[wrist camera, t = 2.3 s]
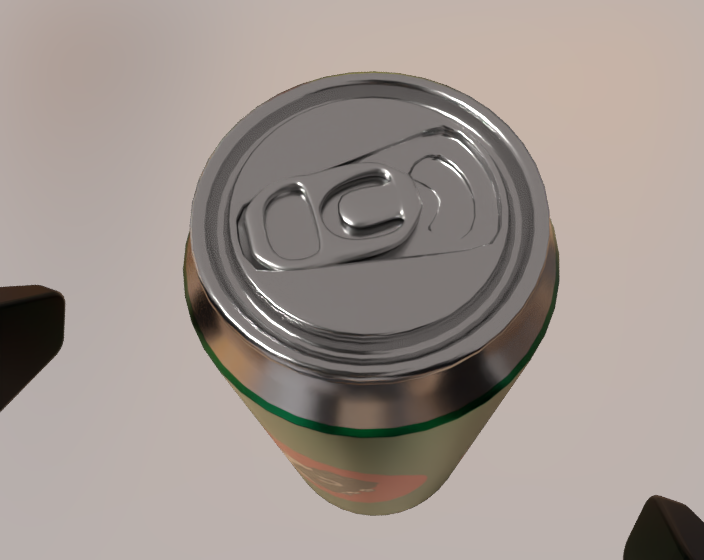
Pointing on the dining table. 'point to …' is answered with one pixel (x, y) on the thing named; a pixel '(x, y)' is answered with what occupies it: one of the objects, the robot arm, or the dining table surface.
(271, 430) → the soda can
